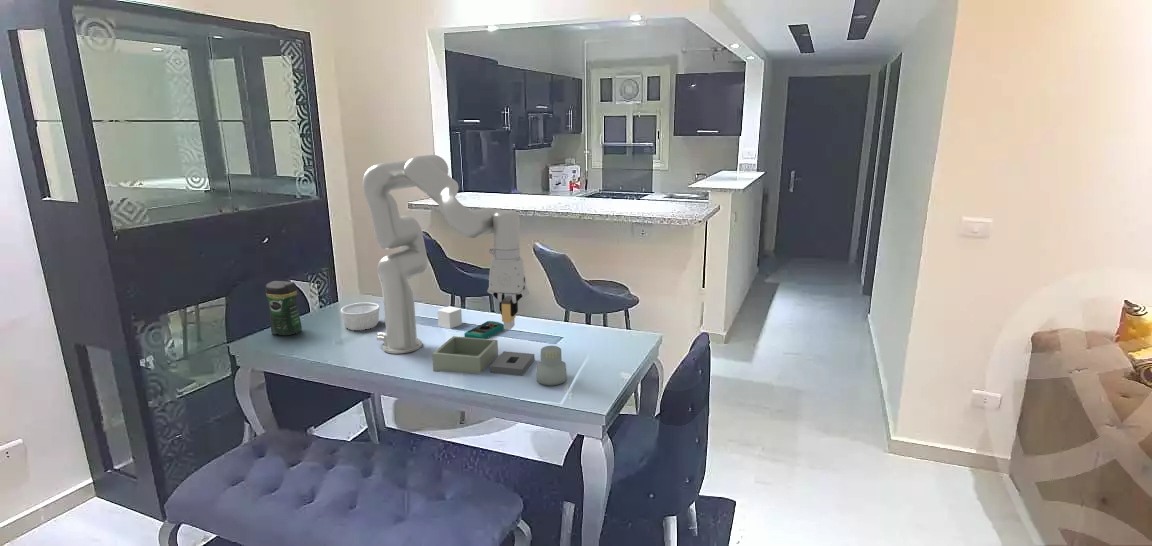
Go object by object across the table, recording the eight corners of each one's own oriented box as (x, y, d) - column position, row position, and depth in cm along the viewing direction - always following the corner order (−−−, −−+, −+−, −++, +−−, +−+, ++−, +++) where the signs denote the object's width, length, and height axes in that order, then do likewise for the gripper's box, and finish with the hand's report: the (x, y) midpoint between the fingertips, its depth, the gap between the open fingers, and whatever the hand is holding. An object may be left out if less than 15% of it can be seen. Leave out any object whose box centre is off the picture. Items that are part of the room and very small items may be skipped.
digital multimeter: (505, 330, 218) (505, 322, 217) (481, 343, 205) (481, 335, 204) (488, 327, 221) (488, 319, 220) (463, 340, 208) (463, 332, 207)
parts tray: (433, 370, 182) (432, 353, 180) (454, 352, 196) (453, 336, 195) (480, 375, 179) (479, 357, 177) (498, 356, 193) (497, 339, 191)
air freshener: (567, 389, 169) (566, 355, 167) (537, 390, 169) (536, 356, 166) (564, 373, 180) (564, 341, 177) (536, 374, 179) (536, 342, 177)
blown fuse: (502, 329, 179) (501, 300, 177) (508, 324, 184) (507, 295, 181) (510, 330, 178) (509, 301, 176) (515, 324, 183) (515, 296, 181)
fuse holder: (490, 374, 179) (489, 366, 179) (503, 358, 191) (503, 351, 190) (522, 377, 177) (522, 369, 177) (534, 361, 189) (534, 353, 188)
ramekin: (373, 332, 215) (371, 313, 213) (336, 332, 215) (334, 313, 213) (385, 320, 228) (384, 302, 226) (350, 320, 228) (348, 302, 226)
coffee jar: (306, 329, 217) (300, 279, 213) (290, 337, 210) (284, 285, 205) (283, 327, 220) (276, 277, 215) (267, 334, 212) (260, 283, 208)
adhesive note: (438, 326, 221) (437, 310, 220) (450, 321, 226) (449, 306, 224) (450, 329, 218) (449, 313, 216) (462, 324, 223) (461, 308, 221)
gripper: (475, 255, 174) (478, 316, 178) (530, 258, 170) (531, 320, 175) (485, 249, 181) (487, 308, 185) (537, 252, 177) (538, 312, 182)
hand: (508, 313), depth 180 cm, fingers closed on blown fuse, 2 cm apart
